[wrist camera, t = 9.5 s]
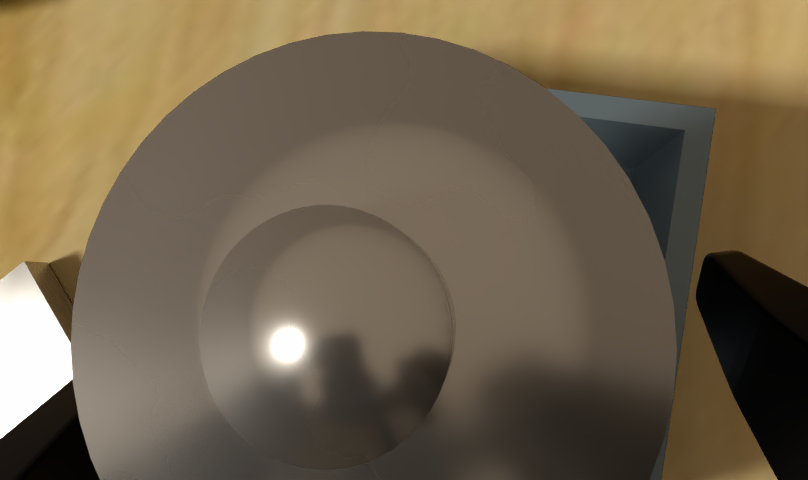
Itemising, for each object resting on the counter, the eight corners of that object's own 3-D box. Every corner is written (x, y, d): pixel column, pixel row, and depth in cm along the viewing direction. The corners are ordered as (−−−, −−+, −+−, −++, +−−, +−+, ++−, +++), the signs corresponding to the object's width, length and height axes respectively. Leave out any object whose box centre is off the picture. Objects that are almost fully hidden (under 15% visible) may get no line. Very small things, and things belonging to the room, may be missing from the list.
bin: (596, 512, 15) (643, 602, 11) (258, 426, 17) (182, 473, 13) (651, 157, 16) (715, 108, 12) (323, 112, 18) (272, 55, 13)
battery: (457, 412, 15) (354, 920, 3) (340, 306, 16) (-108, 363, 4) (561, 289, 15) (903, 293, 3) (437, 190, 16) (293, -132, 4)
